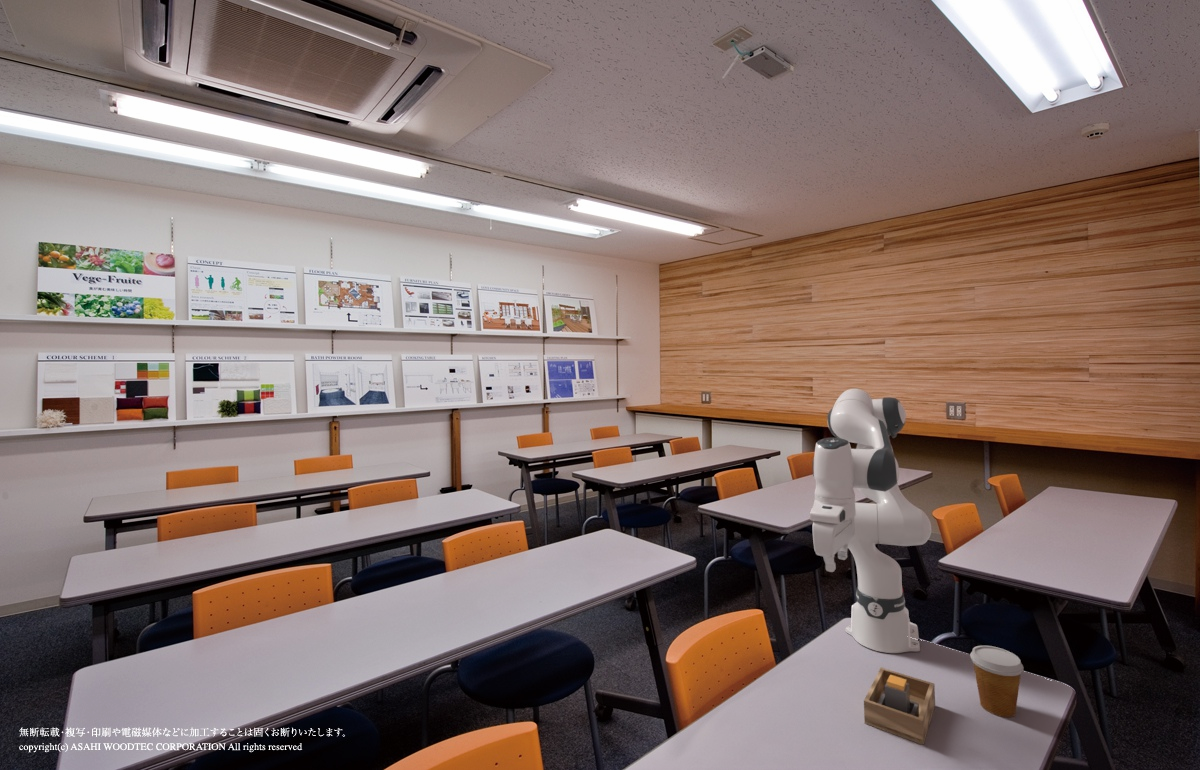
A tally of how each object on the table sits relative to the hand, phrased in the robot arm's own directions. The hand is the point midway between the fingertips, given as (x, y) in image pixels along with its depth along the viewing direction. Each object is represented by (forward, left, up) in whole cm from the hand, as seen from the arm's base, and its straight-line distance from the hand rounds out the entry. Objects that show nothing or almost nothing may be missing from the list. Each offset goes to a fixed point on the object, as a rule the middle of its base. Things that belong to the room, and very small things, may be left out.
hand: (836, 564), depth 123 cm
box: (0, +12, -31) cm, 33 cm away
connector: (+3, +12, -30) cm, 33 cm away
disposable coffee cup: (-15, +29, -31) cm, 45 cm away
